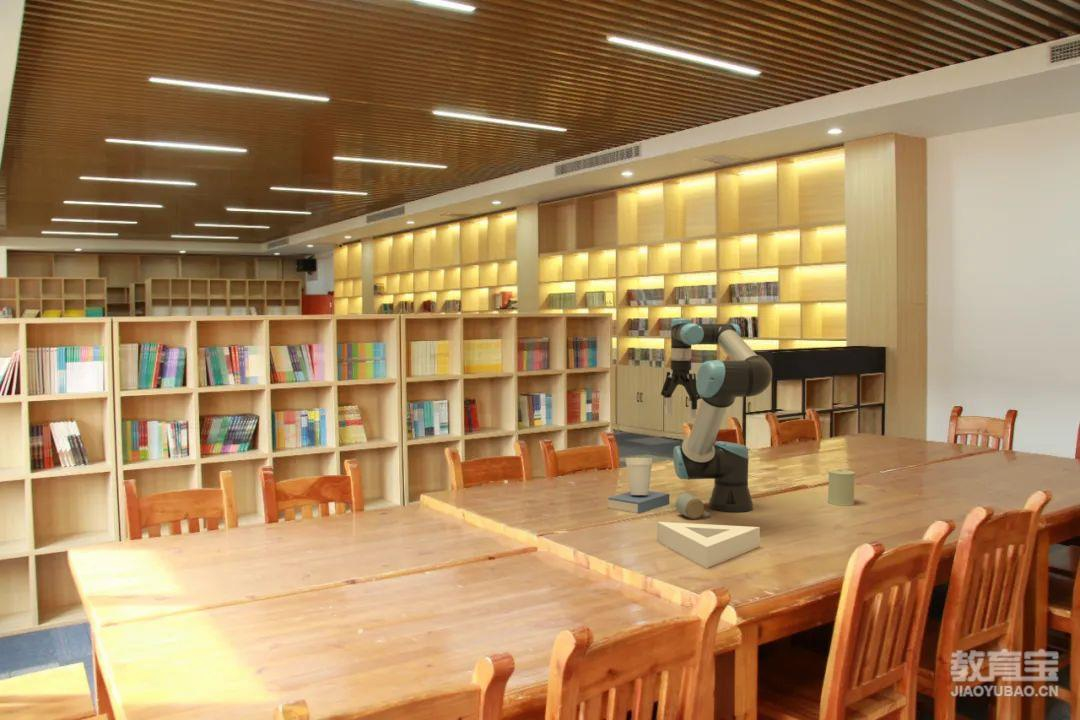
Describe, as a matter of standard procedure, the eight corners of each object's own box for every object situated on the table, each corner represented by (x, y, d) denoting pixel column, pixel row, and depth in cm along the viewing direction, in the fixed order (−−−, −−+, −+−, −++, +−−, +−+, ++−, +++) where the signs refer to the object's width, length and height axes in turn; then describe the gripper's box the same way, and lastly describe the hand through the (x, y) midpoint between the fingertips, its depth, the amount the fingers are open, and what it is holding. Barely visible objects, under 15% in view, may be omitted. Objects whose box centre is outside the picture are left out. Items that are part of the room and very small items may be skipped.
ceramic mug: (685, 520, 279) (686, 497, 279) (675, 515, 287) (675, 492, 286) (714, 519, 282) (715, 496, 282) (703, 513, 290) (703, 491, 289)
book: (669, 505, 304) (669, 493, 304) (639, 515, 289) (639, 502, 289) (639, 500, 313) (639, 489, 312) (608, 509, 297) (608, 497, 297)
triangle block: (656, 542, 253) (657, 521, 253) (732, 536, 261) (732, 516, 261) (706, 570, 224) (706, 546, 224) (789, 562, 232) (790, 539, 232)
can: (850, 500, 312) (851, 468, 311) (857, 505, 302) (858, 472, 302) (825, 500, 312) (825, 468, 312) (831, 505, 303) (831, 472, 303)
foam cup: (651, 495, 294) (650, 458, 296) (625, 495, 296) (624, 458, 298) (653, 494, 304) (653, 457, 305) (628, 493, 306) (627, 457, 307)
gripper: (711, 360, 304) (710, 419, 305) (667, 358, 325) (666, 412, 326) (695, 361, 300) (695, 420, 301) (652, 358, 321) (651, 413, 322)
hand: (680, 416), depth 314 cm, fingers open, 13 cm apart
